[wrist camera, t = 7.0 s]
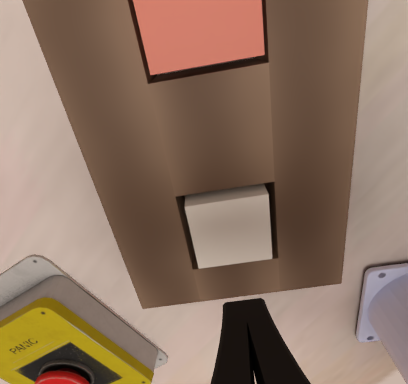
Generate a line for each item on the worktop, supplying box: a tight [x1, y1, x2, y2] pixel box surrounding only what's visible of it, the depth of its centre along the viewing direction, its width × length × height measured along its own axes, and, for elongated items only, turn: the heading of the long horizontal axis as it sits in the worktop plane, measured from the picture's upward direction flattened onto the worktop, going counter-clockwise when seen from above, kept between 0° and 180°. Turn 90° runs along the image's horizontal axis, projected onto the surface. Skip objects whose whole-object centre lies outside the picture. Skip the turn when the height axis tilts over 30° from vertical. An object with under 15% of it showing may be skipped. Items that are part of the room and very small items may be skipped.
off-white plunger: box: [185, 183, 272, 269], centre depth 16 cm, size 4×4×3 cm
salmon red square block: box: [133, 0, 265, 75], centre depth 10 cm, size 4×4×3 cm
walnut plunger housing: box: [22, 0, 368, 309], centre depth 14 cm, size 12×20×3 cm, turn 9°
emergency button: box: [0, 255, 168, 384], centre depth 22 cm, size 9×4×15 cm
